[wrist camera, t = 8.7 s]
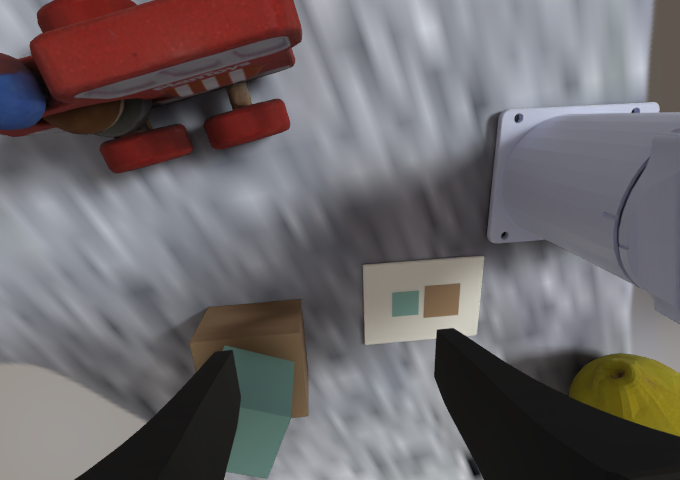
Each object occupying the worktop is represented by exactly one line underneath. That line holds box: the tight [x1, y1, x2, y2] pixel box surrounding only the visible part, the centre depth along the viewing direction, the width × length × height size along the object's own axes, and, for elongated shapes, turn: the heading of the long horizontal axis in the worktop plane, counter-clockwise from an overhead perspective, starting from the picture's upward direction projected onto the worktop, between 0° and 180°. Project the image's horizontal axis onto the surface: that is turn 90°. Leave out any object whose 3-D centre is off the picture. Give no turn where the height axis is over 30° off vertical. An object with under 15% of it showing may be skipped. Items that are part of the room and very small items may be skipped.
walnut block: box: [189, 299, 308, 418], centre depth 22 cm, size 6×6×4 cm
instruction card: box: [363, 256, 484, 345], centre depth 24 cm, size 8×6×1 cm
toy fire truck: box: [0, 0, 302, 173], centre depth 14 cm, size 7×12×10 cm, turn 103°
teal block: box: [223, 345, 294, 479], centre depth 18 cm, size 4×4×4 cm
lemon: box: [569, 353, 680, 436], centre depth 24 cm, size 11×8×8 cm
